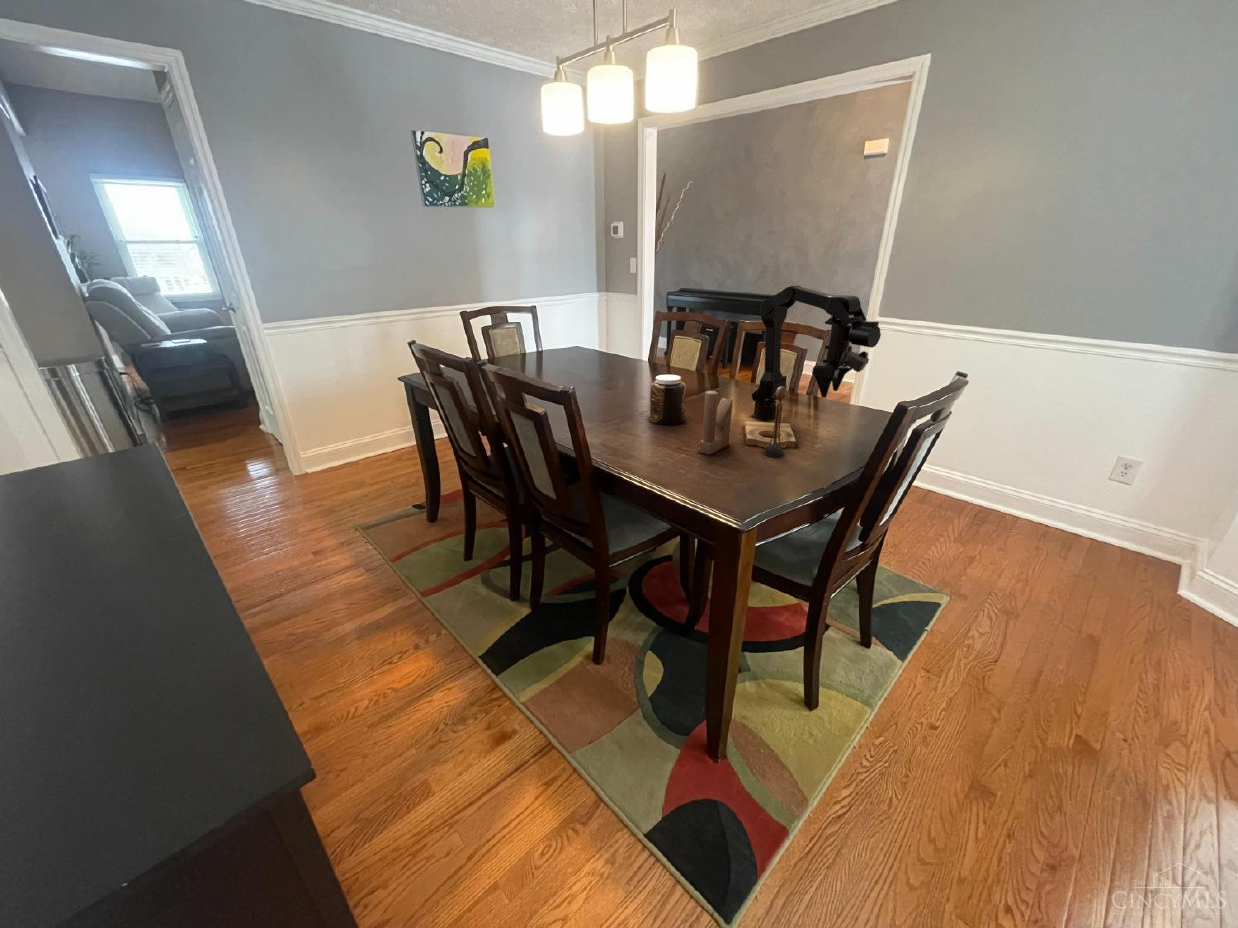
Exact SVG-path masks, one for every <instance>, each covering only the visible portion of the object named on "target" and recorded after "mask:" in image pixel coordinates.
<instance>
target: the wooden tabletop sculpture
mask: <svg viewBox="0 0 1238 928" xmlns="http://www.w3.org/2000/svg"><path fill="white" fill-rule="evenodd" d="M787 395H788V390H787V388H785V387H784V386H780V387H779V388H777V390H776V393H775V394H773V397H774V398H777V400H778V401H777V400H776V401H777V402H776V406H777V407H776V417H775V418H774V423H775V424H774V429H773V434H772V436H771V437H770V438H771V441H770V444H769V445H768V446H767V447H766V448H765V450H764V454H765V456H768V457H772V458H780V457H782V456H783V448H781V446H780V423H782V422H781V421H782V414H783V413H782V412H783V405H784V404H783V402H782V401H783V400H785V399H786V398H787ZM778 426H779V432H778ZM774 431H775V434H774ZM777 434H778V439H779V444H778V443H777ZM773 435H774V437H773ZM773 438H774V442H772V439H773ZM771 442H772V443H771Z"/></svg>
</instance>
